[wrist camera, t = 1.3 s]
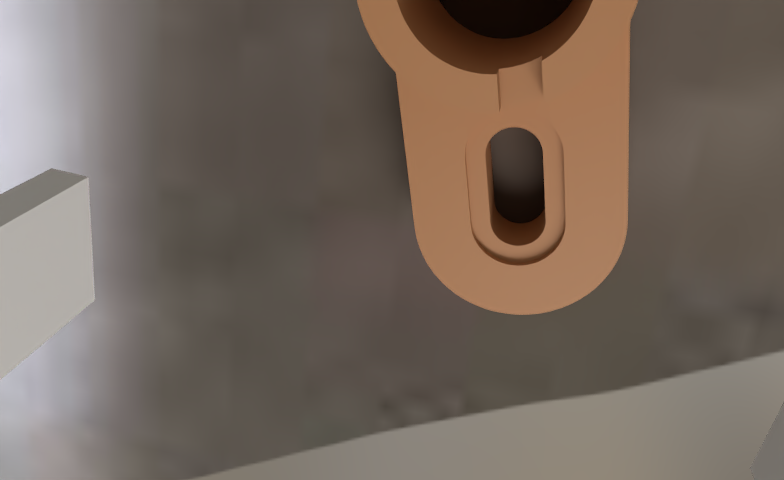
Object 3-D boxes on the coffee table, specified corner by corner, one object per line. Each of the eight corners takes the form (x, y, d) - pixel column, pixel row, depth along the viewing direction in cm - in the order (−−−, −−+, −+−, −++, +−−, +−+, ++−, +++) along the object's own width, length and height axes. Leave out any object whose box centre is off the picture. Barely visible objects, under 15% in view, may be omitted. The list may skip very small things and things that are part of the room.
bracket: (385, -150, 25) (332, -169, 19) (624, -190, 24) (649, -225, 17) (434, 284, 33) (407, 370, 27) (620, 281, 31) (638, 374, 25)
